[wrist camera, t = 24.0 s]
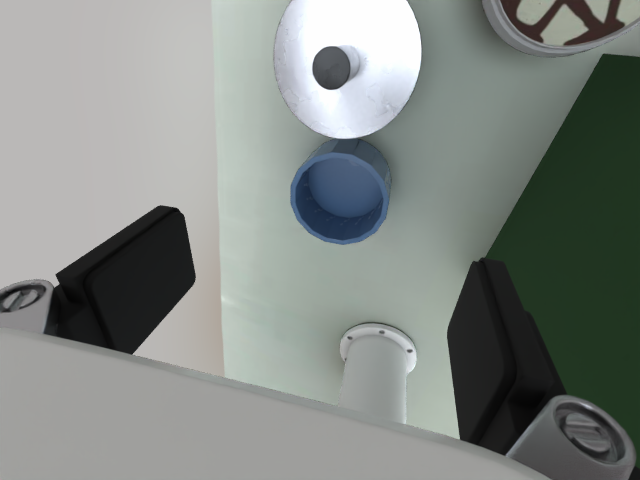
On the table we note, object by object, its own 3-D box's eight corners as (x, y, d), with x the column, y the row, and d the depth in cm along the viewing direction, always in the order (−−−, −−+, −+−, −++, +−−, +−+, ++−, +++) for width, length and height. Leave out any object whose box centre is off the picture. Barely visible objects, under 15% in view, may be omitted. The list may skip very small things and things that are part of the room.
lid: (405, 143, 29) (404, 166, 24) (278, 128, 31) (252, 147, 26) (438, -28, 23) (446, -47, 18) (276, -32, 25) (240, -51, 20)
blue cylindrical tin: (383, 225, 43) (380, 251, 38) (304, 213, 45) (290, 236, 40) (398, 142, 37) (396, 159, 32) (306, 132, 39) (290, 146, 34)
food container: (439, 29, 31) (449, 26, 23) (472, -54, 28) (499, -93, 20) (565, 71, 31) (622, 83, 22) (615, -9, 27) (705, -30, 19)
